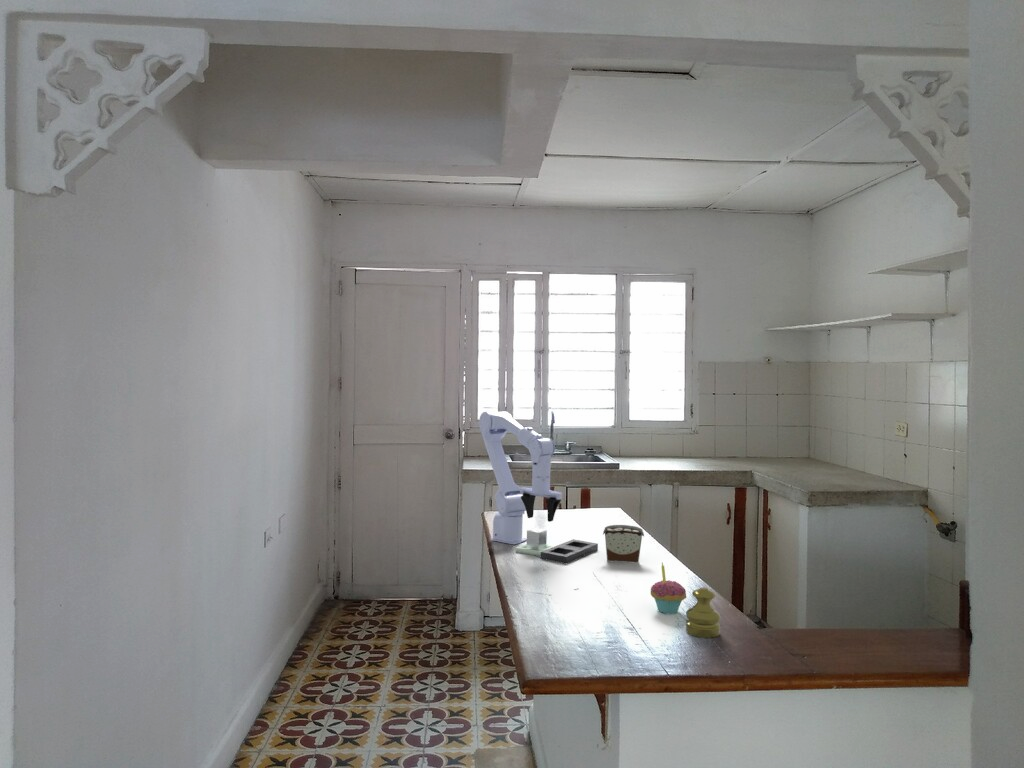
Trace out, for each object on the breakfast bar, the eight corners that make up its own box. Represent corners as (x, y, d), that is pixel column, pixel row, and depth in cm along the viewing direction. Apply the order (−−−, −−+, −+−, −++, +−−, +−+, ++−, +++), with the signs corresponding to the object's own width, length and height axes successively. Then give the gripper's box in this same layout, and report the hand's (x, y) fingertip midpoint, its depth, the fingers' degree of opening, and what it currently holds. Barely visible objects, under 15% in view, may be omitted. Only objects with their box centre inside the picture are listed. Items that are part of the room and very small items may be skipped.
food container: (641, 557, 225) (642, 525, 225) (643, 563, 219) (644, 529, 219) (601, 555, 227) (602, 523, 226) (602, 561, 221) (602, 528, 220)
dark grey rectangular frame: (540, 558, 222) (540, 551, 222) (573, 545, 238) (573, 539, 238) (566, 563, 217) (566, 556, 217) (597, 549, 233) (597, 543, 233)
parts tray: (516, 551, 229) (516, 547, 229) (531, 546, 236) (531, 541, 236) (540, 556, 224) (540, 552, 224) (555, 550, 231) (555, 546, 231)
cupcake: (664, 618, 172) (666, 568, 172) (642, 607, 180) (643, 559, 179) (693, 613, 176) (694, 564, 176) (670, 602, 184) (671, 555, 183)
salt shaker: (714, 641, 159) (715, 595, 158) (681, 634, 162) (682, 589, 162) (724, 631, 165) (725, 587, 164) (691, 624, 169) (693, 581, 168)
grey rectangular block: (526, 549, 230) (526, 530, 229) (534, 546, 233) (534, 528, 233) (538, 551, 227) (538, 532, 227) (546, 549, 231) (546, 530, 231)
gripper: (567, 477, 230) (566, 520, 230) (529, 472, 238) (528, 513, 239) (555, 480, 224) (554, 524, 224) (516, 475, 232) (515, 517, 233)
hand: (540, 519), depth 231 cm, fingers open, 7 cm apart
